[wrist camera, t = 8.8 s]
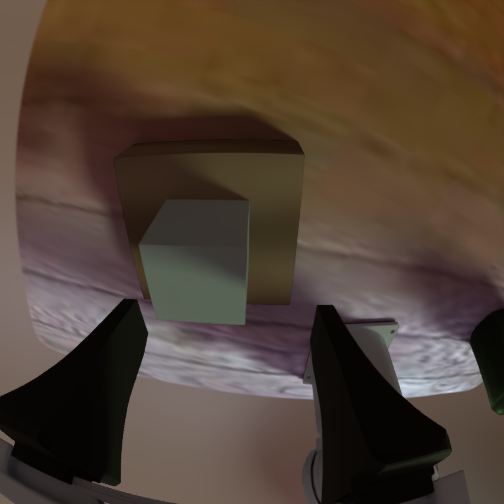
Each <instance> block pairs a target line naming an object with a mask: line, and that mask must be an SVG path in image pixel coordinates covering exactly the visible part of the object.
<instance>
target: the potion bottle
mask: <svg viewBox="0 0 504 504" xmlns="http://www.w3.org/2000/svg"><path fill="white" fill-rule="evenodd" d="M470 345H471V347H472V350H473V353H474V355H475V358H476V361H477V364H478V367H479V369H480V372H481V375H482V378H483V382H484V385H485V387H486V391H487V394H488V398H489V401H490V405H491V408H492V410H493V411H495V412H496V413H497V414H499V415H504V309H502V310H498V311H496V312H494V313H492V314H490V315H489V316H488V317H486V318H485V319H484V320H483V321H482V322H481V323H480V324H479V325H478V326H477V327H476V328H475V330H474V332H473V334H472V336H471V341H470Z"/></svg>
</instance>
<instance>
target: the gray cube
mask: <svg viewBox="0 0 504 504" xmlns="http://www.w3.org/2000/svg"><path fill="white" fill-rule="evenodd" d="M249 210H250V201H249V200H193V199H166V201H165V203H164V204H163V206H162V207H161V209H160V210H159V212H158V214H157V215H156V217H155V218H154V220H153V221H152V223H151V225H150V226H149V228H148V230H147V231H146V233H145V235H144V236H143V238H142V240H141V241H140V243H139V249H140V254H141V258H142V263H143V267H144V272H145V276H146V280H147V284H148V288H149V292H150V296H151V300H152V304H153V308H154V312H155V315H156V319H159V320H170V321H183V322H197V323H214V324H234V325H245V318H246V301H247V283H248V259H249Z"/></svg>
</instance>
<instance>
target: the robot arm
mask: <svg viewBox="0 0 504 504" xmlns="http://www.w3.org/2000/svg"><path fill="white" fill-rule="evenodd" d="M398 328H399V325H398V323H397V322H383V323H362V324H344V322H343V321H342V319H341V317H340V316H339V314H338V312H337V310H336V309H335V307H334V306H333V305H317V309H316V314H315V319H314V324H313V329H312V333H311V338H310V342H311V350H310V354H309V358H308V362H307V366H306V370H305V373H304V377H303V383H304V384H312V388H313V397H314V407H315V417H316V426H317V431H318V434H319V436H320V437H319V438H316V449H313V450H312V451H310V453H309V454H308V456H307V458H306V460H305V463H304V465H303V469H302V486H303V491H304V494H305V496H306V499H307V501H308V502H309V503H310V504H471V503H470V498H469V493H468V488H467V483H466V478H465V474H464V471H463V470H461V471H458V472H455V473H453V474H450V475H448V476H445V477H442V478H439V469H438V463H439V462H441V461H442V460H444V459H445V458H446V457H448V456H449V455H450V454H451V452H452V448H451V445H450V440H449V437H448V434H447V432H446V429H444V428H443V427H442V426H440V425H438V424H437V423H436V422H434V421H433V420H431V419H430V418H428V417H427V416H425V415H424V414H422V413H421V412H420V411H419V410H418V409H416V408H415V407H414V406H413V405H412V404H411V403H409V402H408V401H407V400H406V399H405V398H404V397H403V396H402V393H401V390H400V386H399V383H398V379H397V376H396V373H395V370H394V366H393V363H392V360H391V357H390V354H389V351H388V348H389V346H390V344H391V342H392V340H393V338H394V336H395V334H396V332H397V330H398ZM147 337H148V331H147V328H146V325H145V322H144V319H143V316H142V313H141V310H140V307H139V304H138V301H137V300H136V299H123V300H122V301H121V302H120V303H119V304H118V305H117V306H116V307H115V308H114V309H113V310H112V311H111V313H110V314H109V315H108V316H107V317H106V318H105V319H104V320H103V321H102V322H101V323H100V324H99V325H98V326H97V327H96V328H95V329H94V330H93V331H92V332H91V333H90V334H89V335H88V336H87V337H86V338H85V339H84V340H83V341H82V342H81V343H80V344H79V345H78V346H77V347H76V348H75V349H74V350H72V351H71V352H70V353H69V354H68V355H67V356H65V357H64V358H63V359H62V360H60V361H59V362H58V363H57V364H55V365H54V366H53V367H51V368H50V369H48V370H47V371H45V372H44V373H43V374H41V375H40V376H38V377H37V378H35V379H33V380H32V381H30V382H28V383H26V384H25V385H23V386H21V387H19V388H17V389H15V390H13V391H11V392H9V393H7V394H4V395H2V396H1V397H0V430H1V431H2V432H4V433H5V434H6V435H8V436H9V437H10V438H11V439H13V440H14V441H15V444H14V446H12V445H11V444H9V443H8V442H6V441H4V440H3V439H1V438H0V493H1V494H2V495H4V496H5V497H6V498H8V499H9V500H10V501H12V502H13V503H15V504H105V503H104V502H106V503H109V504H176V503H170V502H165V501H159V500H154V499H150V498H145V497H141V496H137V495H132V494H129V493H125V492H121V491H118V490H114V489H111V488H108V487H104V486H101V485H98V484H95V483H92V481H94V482H97V483H101V482H102V483H105V484H108V485H112V486H117V485H118V484H120V483H121V451H122V439H123V431H124V425H125V418H126V413H127V407H128V403H129V399H130V395H131V392H132V389H133V386H134V383H135V380H136V377H137V374H138V371H139V368H140V365H141V362H142V359H143V356H144V352H145V347H146V342H147Z"/></svg>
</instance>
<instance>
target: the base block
mask: <svg viewBox="0 0 504 504" xmlns="http://www.w3.org/2000/svg"><path fill="white" fill-rule="evenodd" d="M304 159H305V154H304V152H303V150H302V148H301V146H300V145H299V143H298V141H279V140H190V141H169V142H154V143H142V144H133V145H132V146H131V147H129V148H128V149H126V150H125V151H123V152H122V153H120V154H119V155H118V156H116V157H115V158H114V164H115V170H116V177H117V183H118V188H119V194H120V199H121V205H122V210H123V215H124V220H125V224H126V229H127V234H128V238H129V242H130V247H131V251H132V255H133V259H134V263H135V267H136V271H137V275H138V279H139V282H140V286H141V290H142V293H143V297H144V299H150V300H151V296H150V292H149V288H148V284H147V280H146V276H145V272H144V267H143V263H142V258H141V254H140V249H139V243H140V241H141V240H142V238H143V236H144V235H145V233H146V231H147V230H148V228H149V226H150V225H151V223H152V221H153V220H154V218H155V217H156V215H157V214H158V212H159V210H160V209H161V207H162V206H163V204H164V203H165V201H166V199H193V200H249V201H250V210H249V259H248V283H247V301H246V304H261V305H290V298H291V290H292V281H293V273H294V264H295V256H296V246H297V237H298V227H299V217H300V207H301V196H302V184H303V172H304Z"/></svg>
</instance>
